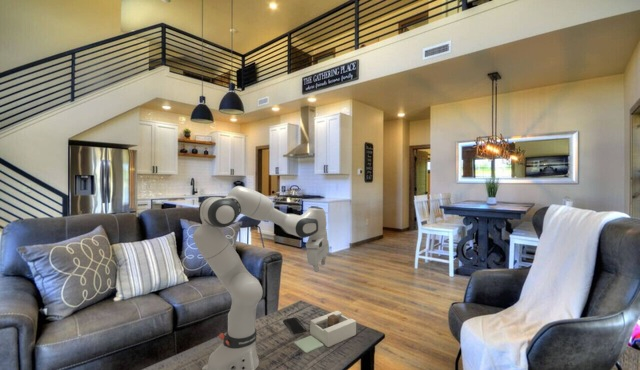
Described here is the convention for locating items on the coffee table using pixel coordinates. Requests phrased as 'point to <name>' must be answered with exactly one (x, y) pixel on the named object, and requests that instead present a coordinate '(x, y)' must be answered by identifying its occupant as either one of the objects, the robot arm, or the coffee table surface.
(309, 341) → the sage mat
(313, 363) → the coffee table surface
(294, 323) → the phone
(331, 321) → the walnut block
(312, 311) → the coffee table surface
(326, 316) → the slotted box
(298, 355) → the coffee table surface
